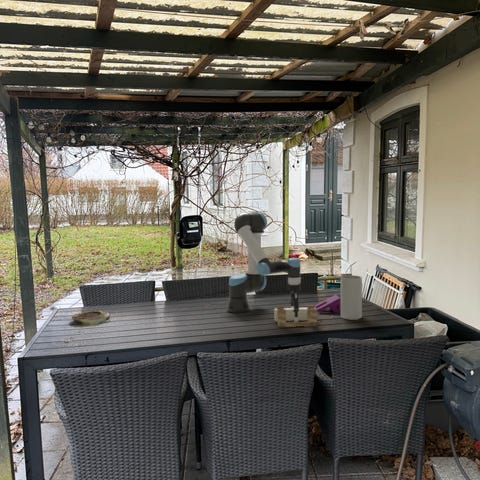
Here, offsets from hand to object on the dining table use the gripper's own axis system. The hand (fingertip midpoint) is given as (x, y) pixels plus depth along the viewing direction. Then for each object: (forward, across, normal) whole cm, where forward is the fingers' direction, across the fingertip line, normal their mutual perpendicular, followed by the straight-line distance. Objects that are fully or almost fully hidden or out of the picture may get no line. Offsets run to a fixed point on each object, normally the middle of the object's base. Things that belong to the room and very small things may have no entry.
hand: (294, 319), depth 260 cm
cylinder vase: (0, +2, -35) cm, 35 cm away
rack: (0, -10, 0) cm, 10 cm away
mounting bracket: (+1, +18, -24) cm, 30 cm away
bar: (0, 0, -1) cm, 1 cm away
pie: (+1, +11, +128) cm, 129 cm away
